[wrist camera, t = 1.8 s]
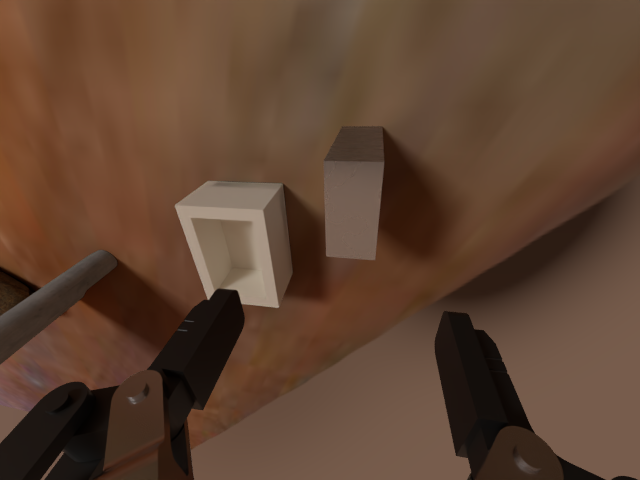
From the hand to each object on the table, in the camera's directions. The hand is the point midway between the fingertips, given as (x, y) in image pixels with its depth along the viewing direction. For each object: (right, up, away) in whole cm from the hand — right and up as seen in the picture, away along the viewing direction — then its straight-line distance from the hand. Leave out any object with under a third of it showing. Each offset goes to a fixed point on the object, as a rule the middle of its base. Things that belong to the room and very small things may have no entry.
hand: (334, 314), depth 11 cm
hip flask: (-37, -2, +32) cm, 49 cm away
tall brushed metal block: (+3, +10, +15) cm, 19 cm away
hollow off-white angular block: (-8, +4, +21) cm, 23 cm away
